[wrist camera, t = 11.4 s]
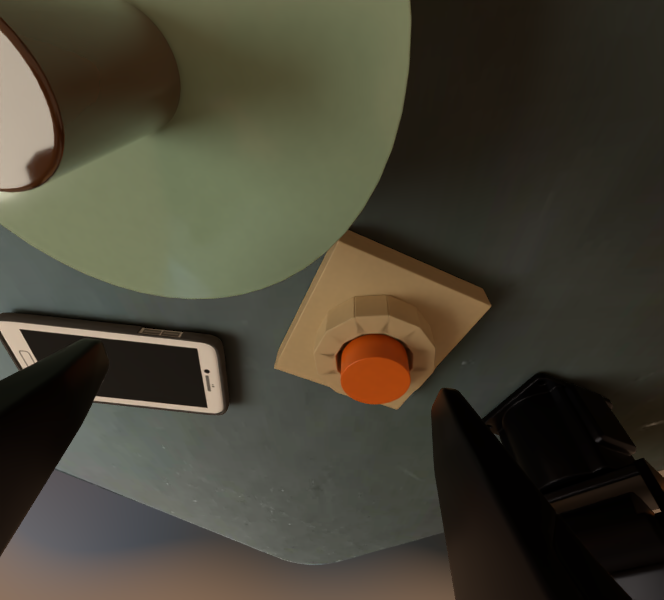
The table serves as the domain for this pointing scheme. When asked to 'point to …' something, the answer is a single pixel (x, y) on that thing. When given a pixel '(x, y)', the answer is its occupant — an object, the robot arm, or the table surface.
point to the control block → (378, 312)
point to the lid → (195, 133)
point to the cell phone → (131, 361)
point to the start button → (375, 369)
